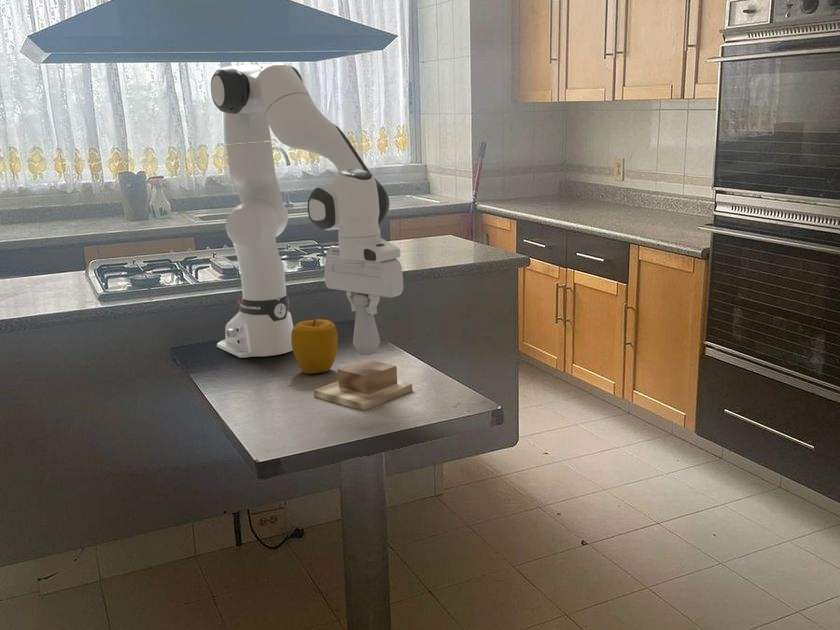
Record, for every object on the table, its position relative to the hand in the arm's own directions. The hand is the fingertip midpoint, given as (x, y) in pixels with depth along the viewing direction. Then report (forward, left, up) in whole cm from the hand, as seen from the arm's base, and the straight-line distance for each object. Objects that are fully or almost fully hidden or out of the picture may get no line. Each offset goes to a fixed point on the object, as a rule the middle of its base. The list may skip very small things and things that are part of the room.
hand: (364, 312), depth 172 cm
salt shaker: (0, 0, -9) cm, 9 cm away
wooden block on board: (0, -2, -18) cm, 18 cm away
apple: (-20, +3, -18) cm, 27 cm away
